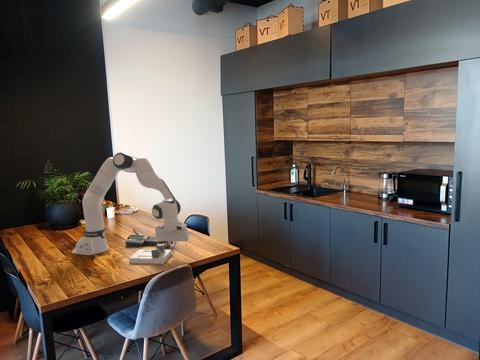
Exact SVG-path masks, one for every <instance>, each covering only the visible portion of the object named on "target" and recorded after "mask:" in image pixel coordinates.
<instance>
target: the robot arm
mask: <svg viewBox="0 0 480 360" xmlns="http://www.w3.org/2000/svg"><path fill="white" fill-rule="evenodd" d="M121 171H123V172H124V173H131V174H133V173H135V176H136V177H137V180H138V182H139V184H140V185H141V186H142V187H143V188H146V189H153V190H157V191H158V192H159V193H160V194H161V195H162V197H163V198H164V199H163V200H162V201H160V202H159V203H156V204H154V205H153V206H152V209H151V214H152V216H153V217H154V218H155V219H157V220H163V225H157V226H155V228H154V231H155V239H156V241H168V244H169V245H170V249H176V248H177V247H176V245H177V243H178V242H188V241H189V240H190V234H189V230H188V228H187V224H186V223H184V222H182V221H181V222H180V221H179V218H178V215H179V214H180V212H181V208H182V206H181V204H180V202H179V201H178V200H177V199H176V198H175V196H174V194H173V193H172V191H171V190H170V188H169V187H168V185H167V183H166V182H165V181H164V180H163V179H162V178H161V177H159V176H158V175H157V174H156V172H155V170H154V168H153V167H152V164H151V163H150V161H149V159H147V158H146V157H144V156H141V157H138V158H137V157H135V156H134V155H131V154H129V153H127V152H121V151H120V152H117V153H116V154H114V155H113V157H111V156H110V157H107V158H106V160H105V161H104V162H103V164H102V165H101V166H100V167H99V169H98V171H97V173H96V174H95V176H94V178H93V180H92V181H91V183H90V185H89V186H88V187H87V190H86V191H85V193H84V194H83V197H82V201H81V202H82V210H83V218H84V224H85V230H84V231H83V232H82V235H83V236H82V237H81V238H80V239H79V240H77V241H76V244H75V248H74V249H73V250H72V252H71V253H72V254H74V255H83V256H92V255H96V254H101V253H104V252H107V251H108V250H110V247H109V244H108V243H107V242H108V241H107V237H106V234H107V233H106V228H105V223H104V213H103V205H102V201H103V199H104V197H105V196H106V194H107V192H108V191H109V190H110V188H111V187H112V184H113V183H114V180H115V179H116V177H117V175H118V174H119V173H120V172H121ZM171 241H173V245H172V244H171Z"/></svg>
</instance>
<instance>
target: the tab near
mask: <svg viewBox="0 0 480 360" xmlns="http://www.w3.org/2000/svg"><path fill="white" fill-rule="evenodd" d="M151 252H152V257H159V256H160V255H161V253H160V248H157V247H153V248H152V250H151Z"/></svg>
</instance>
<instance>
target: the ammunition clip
mask: <svg viewBox="0 0 480 360" xmlns="http://www.w3.org/2000/svg"><path fill="white" fill-rule="evenodd" d="M158 244H165V250H167V249H169V248H170V245H169V244H168V241H157V245H158ZM171 244H172V245H174V241H171ZM157 245H156V246H157ZM170 249H171V248H170Z"/></svg>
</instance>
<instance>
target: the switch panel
mask: <svg viewBox="0 0 480 360" xmlns="http://www.w3.org/2000/svg"><path fill="white" fill-rule="evenodd" d="M152 249H153V248H152ZM152 249H145V248H144V249H143V248H140V249H138V250H137V251H136V252H134V253H133V254H131V256H130V257H129V258H128V262H129V264H157V265H159V264H160V265H164V264H165V262H167V261H168V260H169V258H171V256H172V255H173V249H165V251H164V252H160V253H161V255H160V256H159V257H152V252H151V250H152Z"/></svg>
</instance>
